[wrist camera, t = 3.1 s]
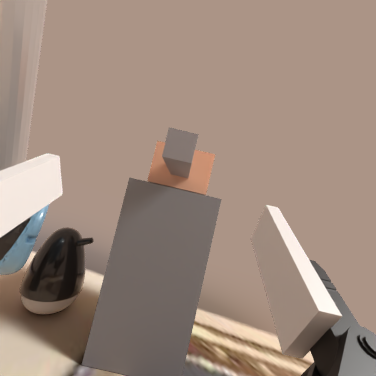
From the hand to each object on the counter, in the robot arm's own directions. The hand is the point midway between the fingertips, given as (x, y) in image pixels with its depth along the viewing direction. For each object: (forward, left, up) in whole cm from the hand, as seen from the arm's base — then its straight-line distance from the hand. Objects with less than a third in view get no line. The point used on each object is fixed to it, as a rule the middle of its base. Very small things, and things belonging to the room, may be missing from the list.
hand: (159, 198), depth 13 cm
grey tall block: (-10, +21, -25) cm, 34 cm away
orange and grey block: (-7, +16, +2) cm, 18 cm away
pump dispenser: (-29, +17, -26) cm, 42 cm away
